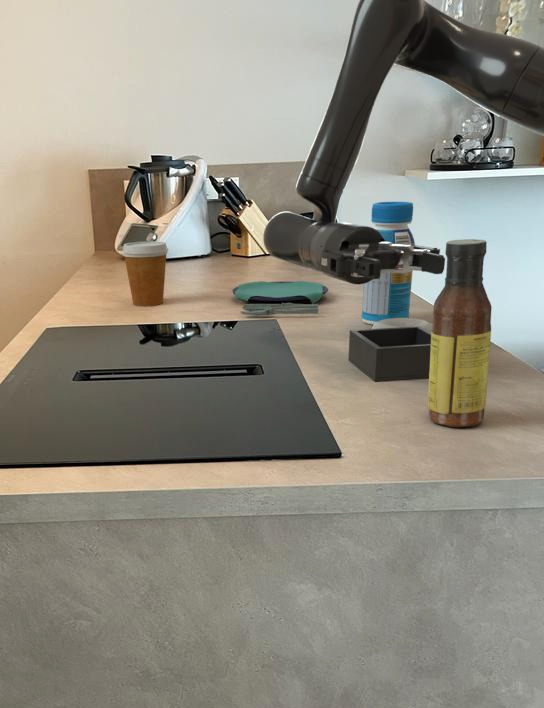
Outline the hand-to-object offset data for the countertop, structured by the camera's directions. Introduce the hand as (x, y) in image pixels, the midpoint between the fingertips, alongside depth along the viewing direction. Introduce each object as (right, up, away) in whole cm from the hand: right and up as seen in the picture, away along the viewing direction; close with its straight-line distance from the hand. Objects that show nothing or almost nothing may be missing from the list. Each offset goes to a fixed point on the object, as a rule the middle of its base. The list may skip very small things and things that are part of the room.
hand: (410, 267), depth 94 cm
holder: (+3, -9, +18) cm, 20 cm away
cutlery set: (-8, +10, +66) cm, 67 cm away
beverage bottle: (+9, +3, +46) cm, 47 cm away
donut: (+8, -4, +31) cm, 32 cm away
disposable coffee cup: (-35, +12, +71) cm, 79 cm away
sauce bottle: (+4, -19, -4) cm, 20 cm away
